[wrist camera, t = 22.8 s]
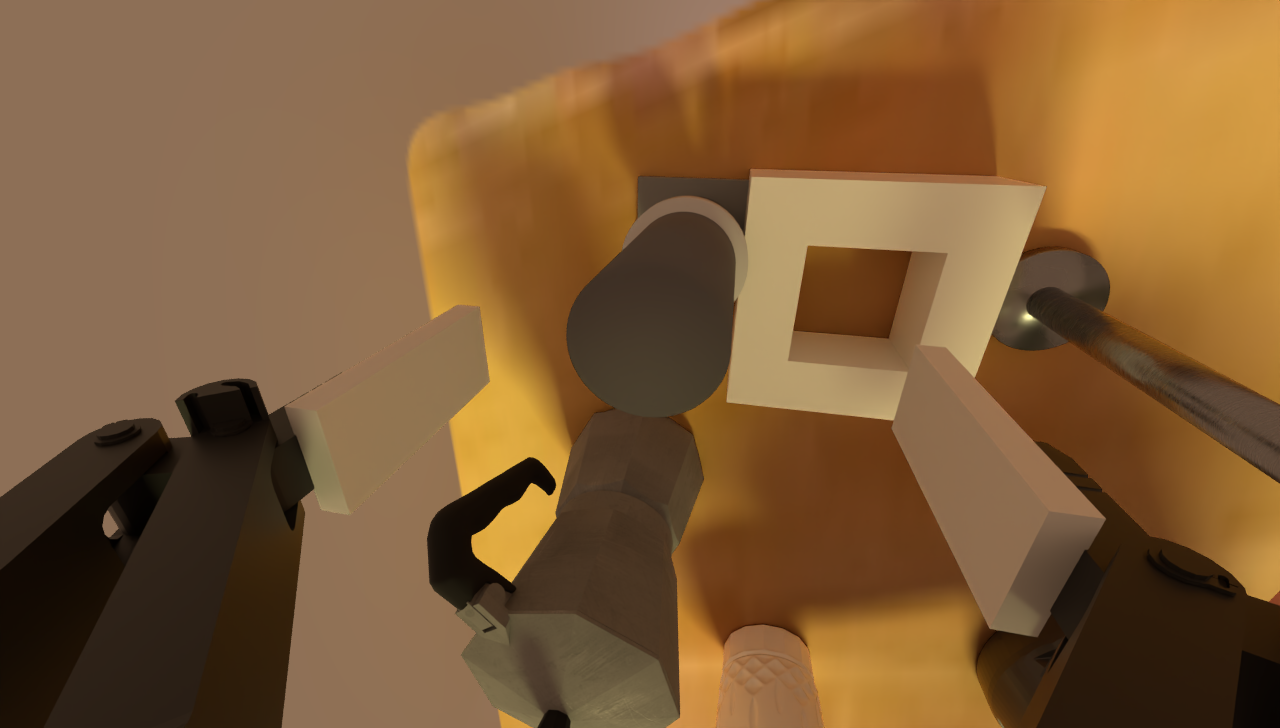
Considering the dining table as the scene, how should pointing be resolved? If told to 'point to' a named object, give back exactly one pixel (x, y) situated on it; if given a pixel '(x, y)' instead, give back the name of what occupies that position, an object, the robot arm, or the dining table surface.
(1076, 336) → the post
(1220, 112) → the dining table surface
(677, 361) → the plug
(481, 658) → the coffeepot
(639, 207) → the coaster
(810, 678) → the white cup
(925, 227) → the socket block
